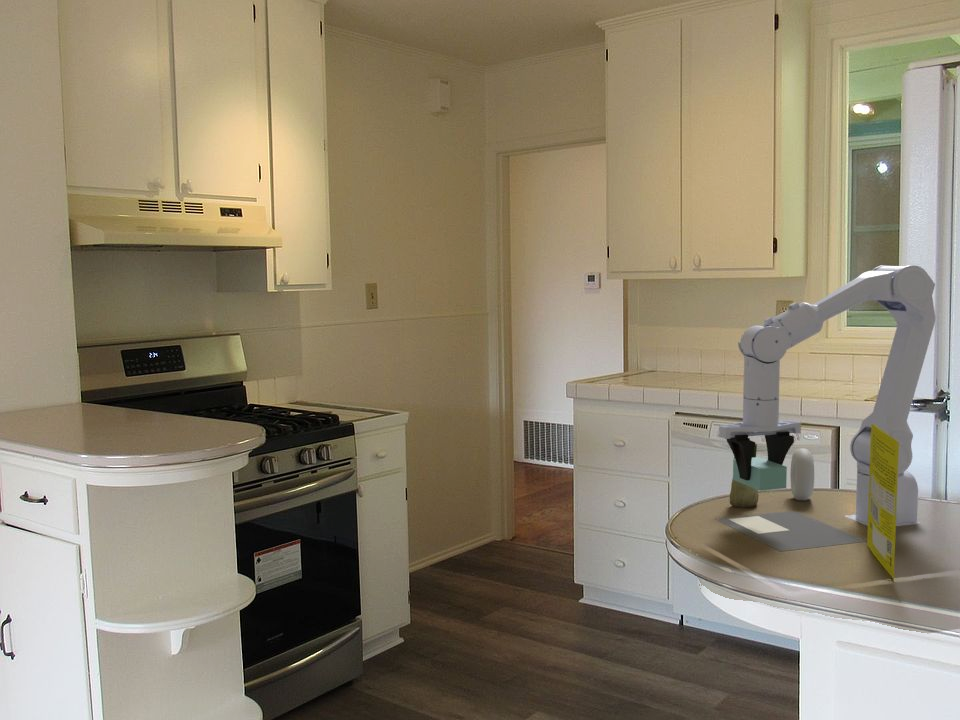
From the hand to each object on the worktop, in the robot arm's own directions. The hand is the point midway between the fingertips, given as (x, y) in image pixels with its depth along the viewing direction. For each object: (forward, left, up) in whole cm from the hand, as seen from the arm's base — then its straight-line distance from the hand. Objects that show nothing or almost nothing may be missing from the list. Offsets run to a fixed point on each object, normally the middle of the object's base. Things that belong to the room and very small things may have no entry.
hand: (759, 477), depth 154 cm
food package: (-6, +22, -9) cm, 25 cm away
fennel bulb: (-5, -12, -9) cm, 16 cm away
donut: (-18, -13, -9) cm, 24 cm away
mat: (-3, +4, -9) cm, 10 cm away
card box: (0, 0, -1) cm, 1 cm away
